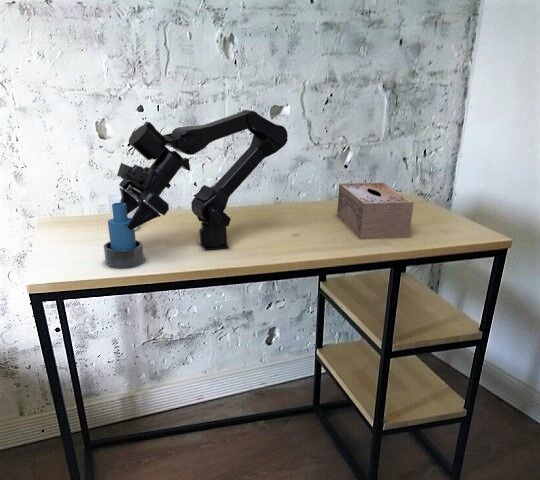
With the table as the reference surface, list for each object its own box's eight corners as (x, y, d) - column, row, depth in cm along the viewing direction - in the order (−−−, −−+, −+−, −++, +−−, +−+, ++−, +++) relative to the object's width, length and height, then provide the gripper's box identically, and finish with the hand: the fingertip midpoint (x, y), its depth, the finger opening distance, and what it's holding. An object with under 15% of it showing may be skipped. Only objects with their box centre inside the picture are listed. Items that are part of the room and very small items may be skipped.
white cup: (107, 229, 164) (102, 194, 160) (130, 223, 169) (127, 190, 165) (121, 234, 160) (117, 199, 155) (145, 229, 164) (141, 195, 160)
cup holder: (142, 254, 144) (140, 237, 142) (145, 266, 136) (143, 249, 134) (105, 257, 142) (103, 240, 140) (106, 270, 134) (104, 252, 132)
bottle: (131, 254, 143) (125, 200, 136) (141, 261, 138) (136, 205, 132) (109, 259, 140) (102, 203, 133) (118, 266, 135) (111, 208, 129)
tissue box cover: (337, 214, 181) (339, 183, 177) (379, 213, 183) (383, 182, 179) (360, 238, 159) (363, 203, 154) (409, 236, 161) (413, 202, 156)
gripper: (122, 144, 137) (84, 195, 137) (151, 156, 123) (108, 212, 123) (155, 174, 144) (119, 222, 144) (186, 188, 130) (146, 241, 130)
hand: (122, 224), depth 135 cm, fingers open, 9 cm apart
